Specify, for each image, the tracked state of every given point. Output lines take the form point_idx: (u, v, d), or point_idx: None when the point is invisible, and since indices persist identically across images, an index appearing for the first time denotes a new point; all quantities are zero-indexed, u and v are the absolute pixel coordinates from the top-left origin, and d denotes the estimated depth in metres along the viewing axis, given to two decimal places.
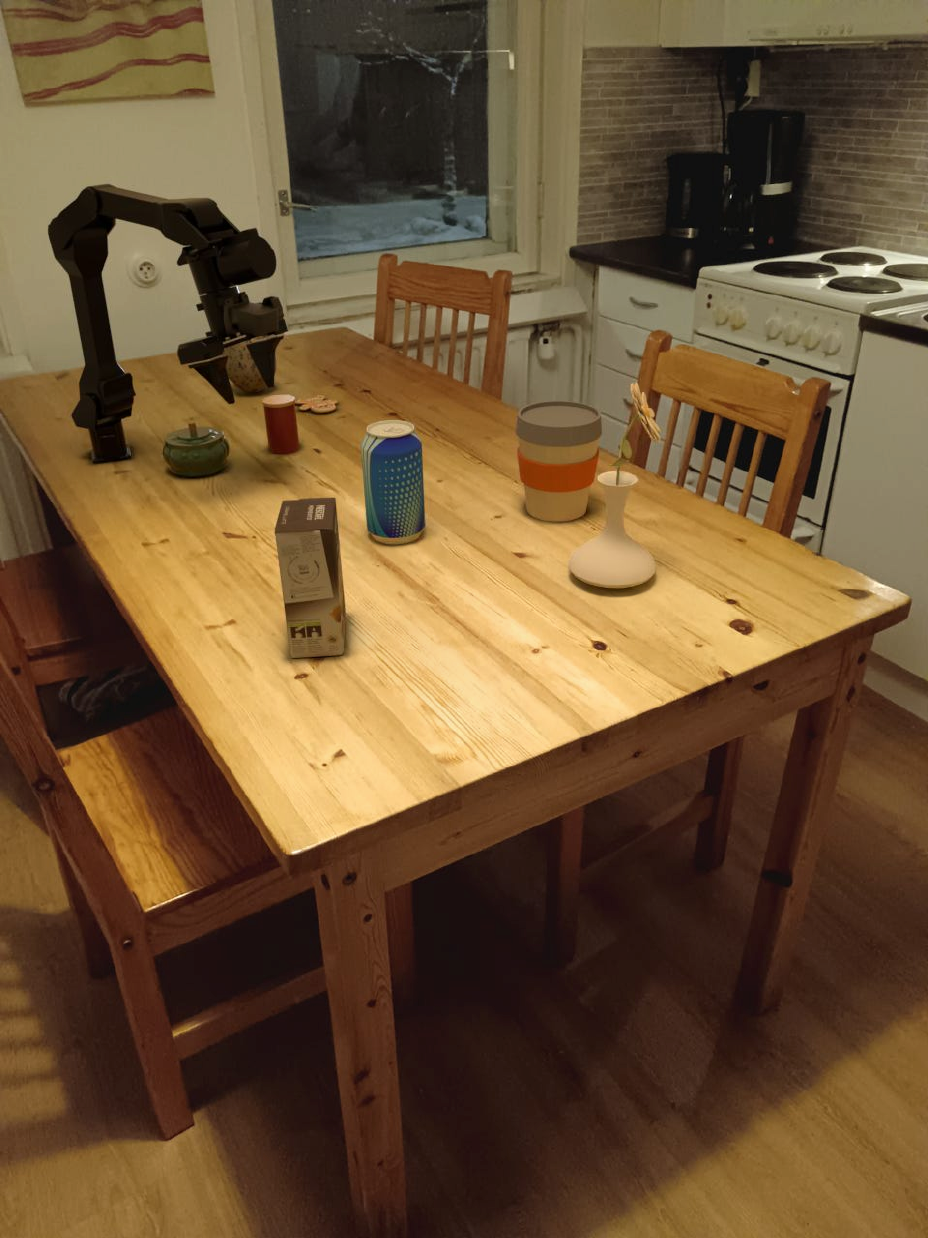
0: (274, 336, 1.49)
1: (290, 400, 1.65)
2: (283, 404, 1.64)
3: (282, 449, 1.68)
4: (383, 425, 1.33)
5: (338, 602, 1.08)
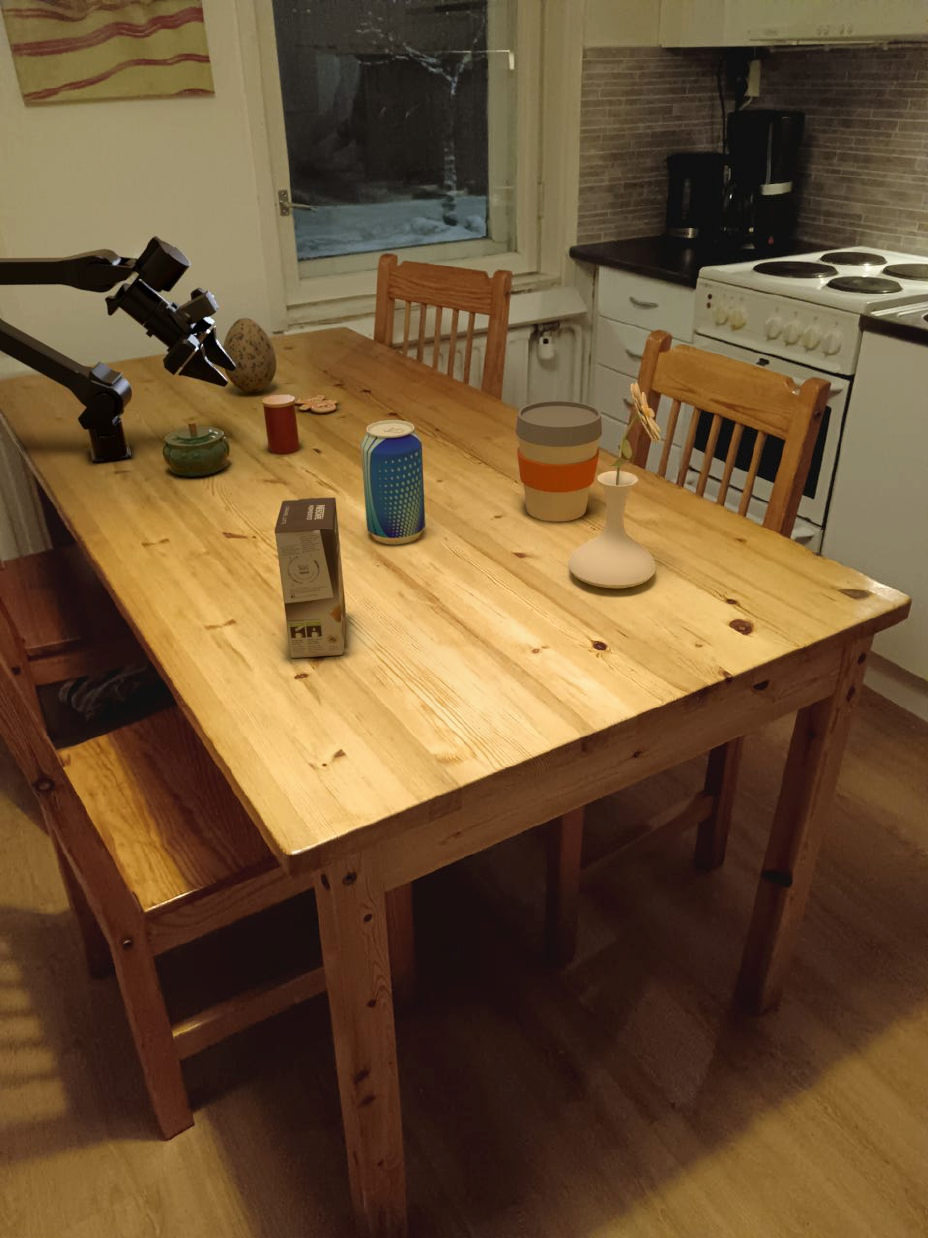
0: (208, 331, 1.67)
1: (290, 400, 1.65)
2: (283, 404, 1.64)
3: (282, 449, 1.68)
4: (383, 425, 1.33)
5: (338, 602, 1.08)
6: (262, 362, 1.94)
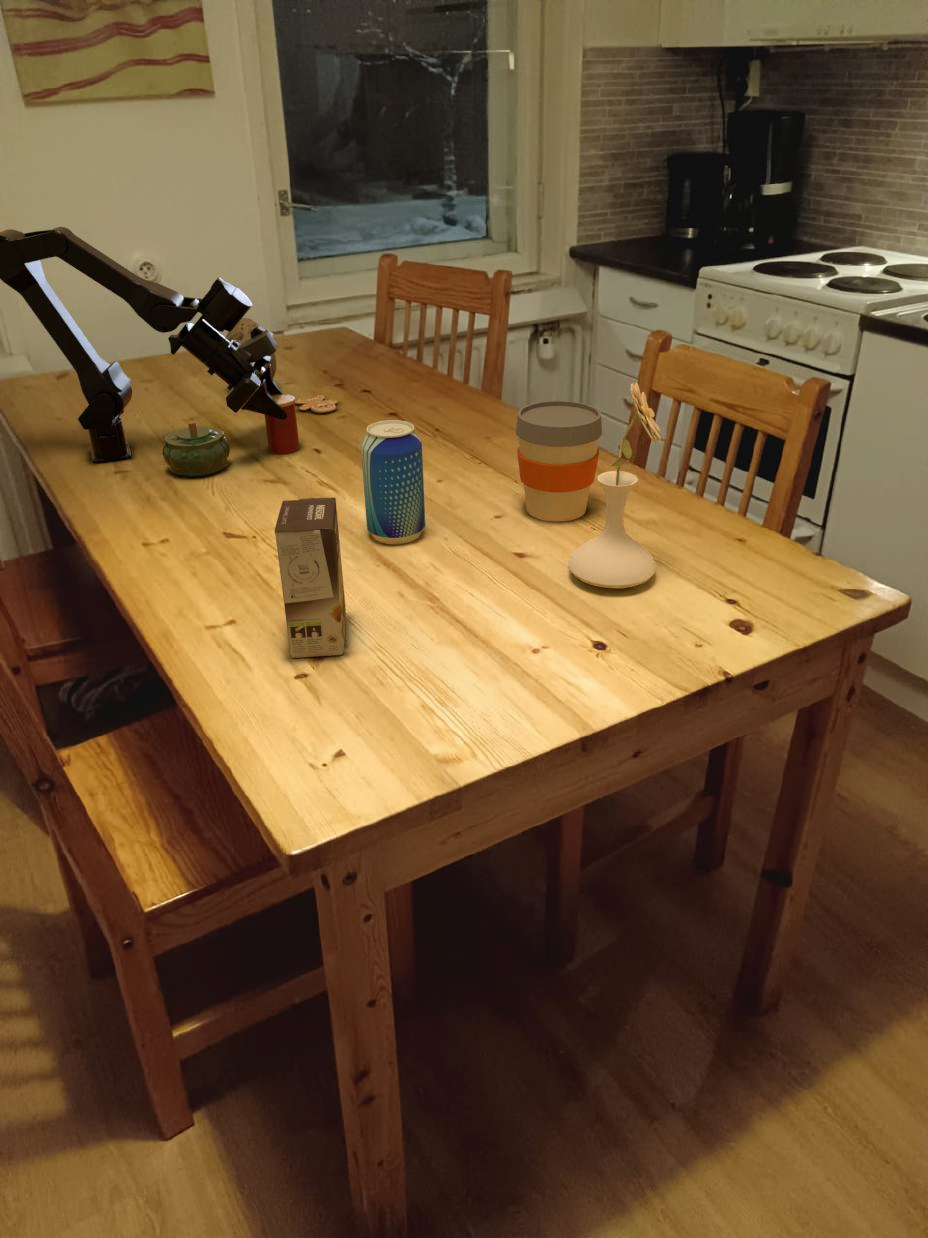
0: (264, 370, 1.69)
1: (290, 400, 1.65)
2: (283, 404, 1.64)
3: (282, 449, 1.68)
4: (383, 425, 1.33)
5: (338, 602, 1.08)
6: None
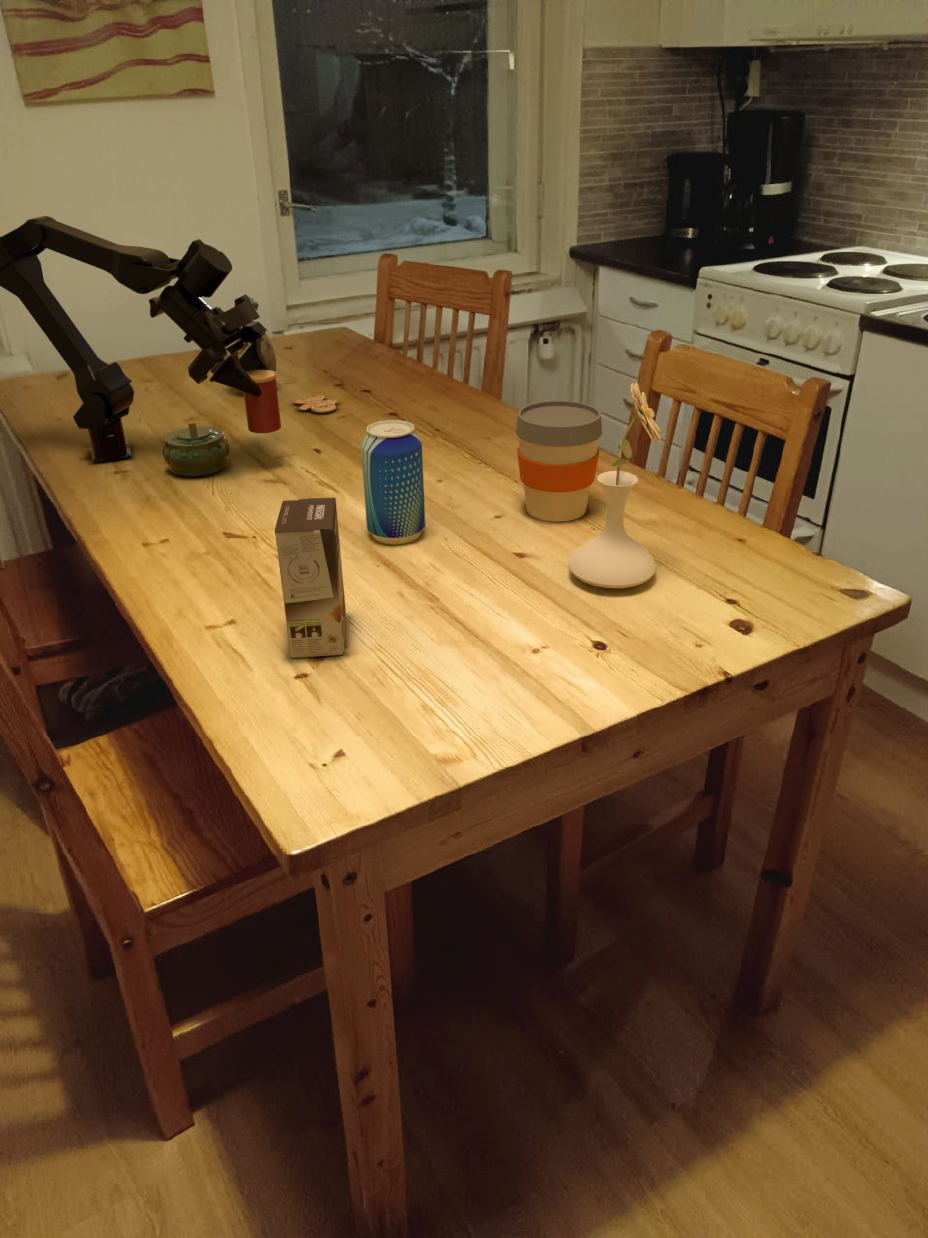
0: (254, 342, 1.58)
1: (267, 377, 1.54)
2: (258, 380, 1.53)
3: (258, 427, 1.57)
4: (383, 425, 1.33)
5: (338, 602, 1.08)
6: None
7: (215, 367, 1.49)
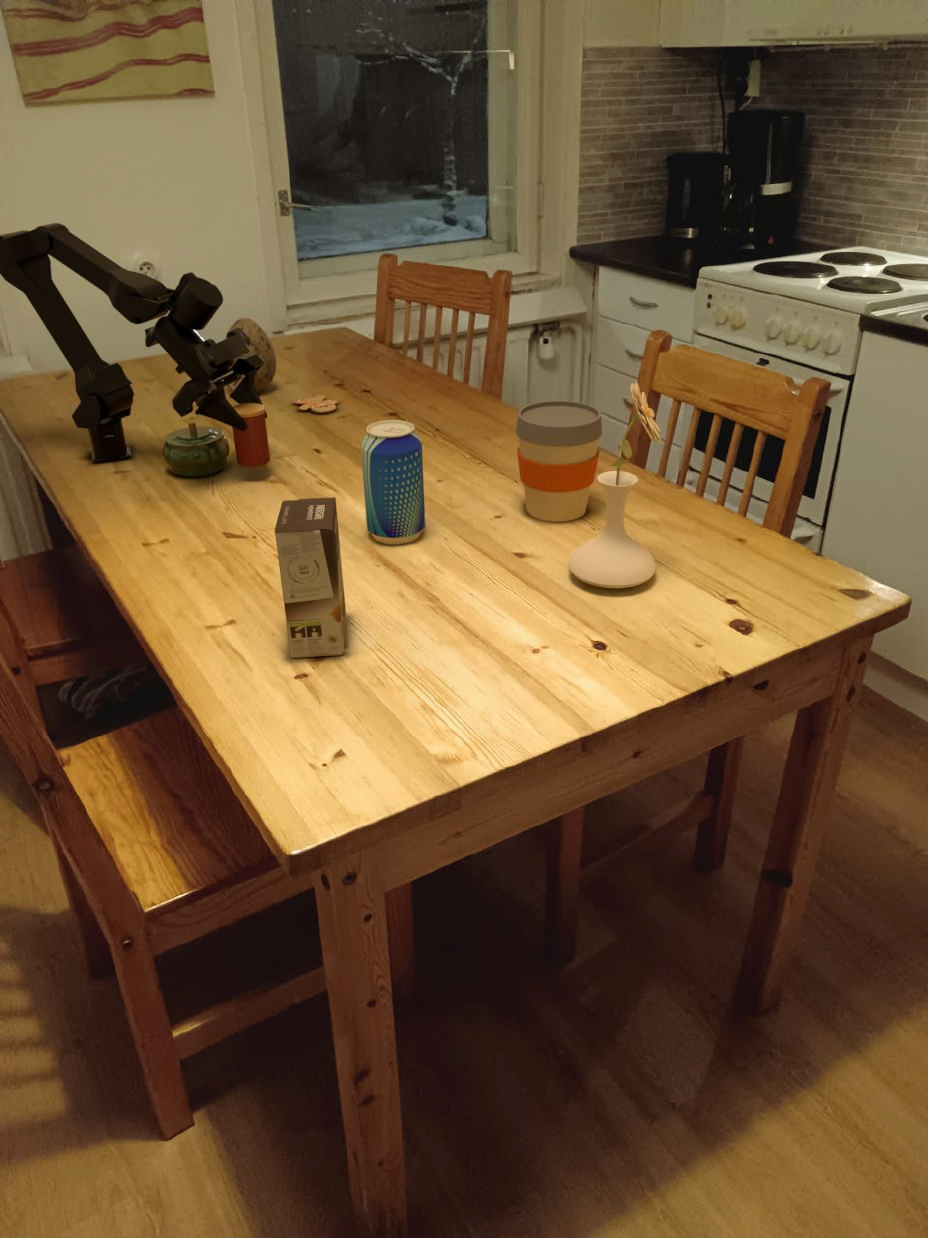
0: None
1: (254, 412, 1.52)
2: (244, 414, 1.51)
3: (244, 461, 1.55)
4: (383, 425, 1.33)
5: (338, 602, 1.08)
6: None
7: (200, 400, 1.49)
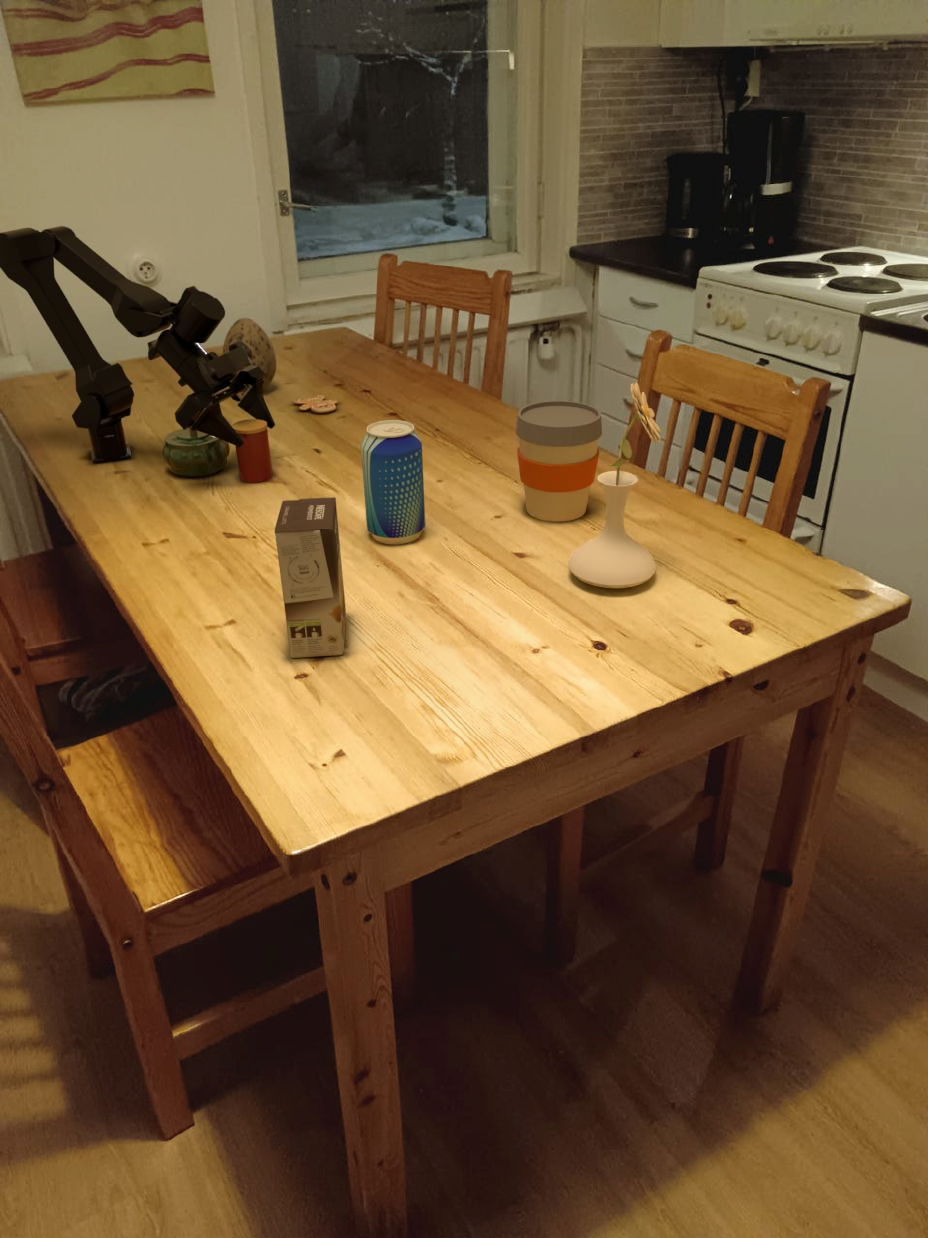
0: None
1: (256, 428, 1.53)
2: (246, 431, 1.52)
3: (247, 477, 1.57)
4: (383, 425, 1.33)
5: (338, 602, 1.08)
6: (262, 362, 1.94)
7: (195, 417, 1.48)
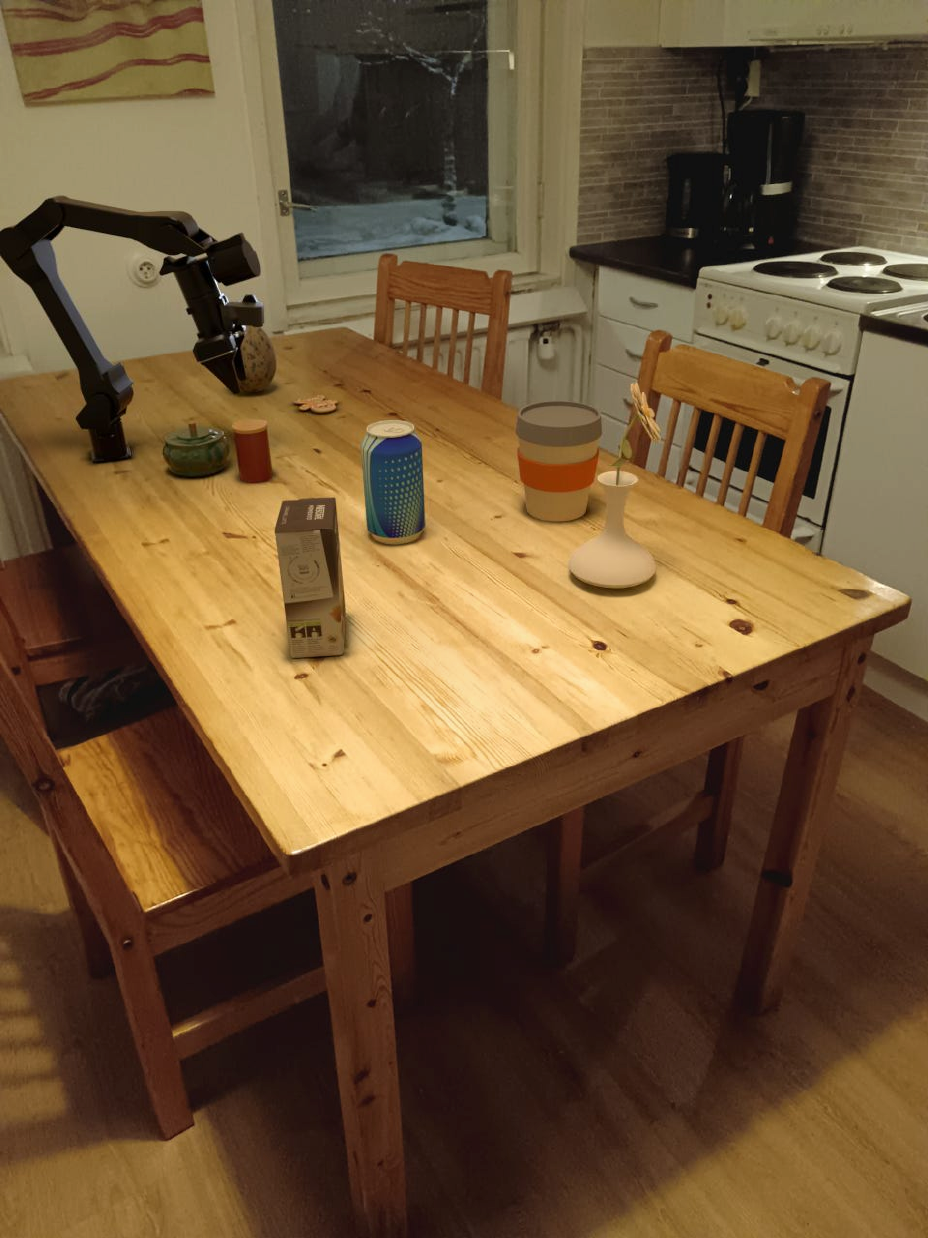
0: (237, 334, 1.64)
1: (256, 428, 1.53)
2: (246, 431, 1.52)
3: (247, 477, 1.57)
4: (383, 425, 1.33)
5: (338, 602, 1.08)
6: (262, 362, 1.94)
7: None
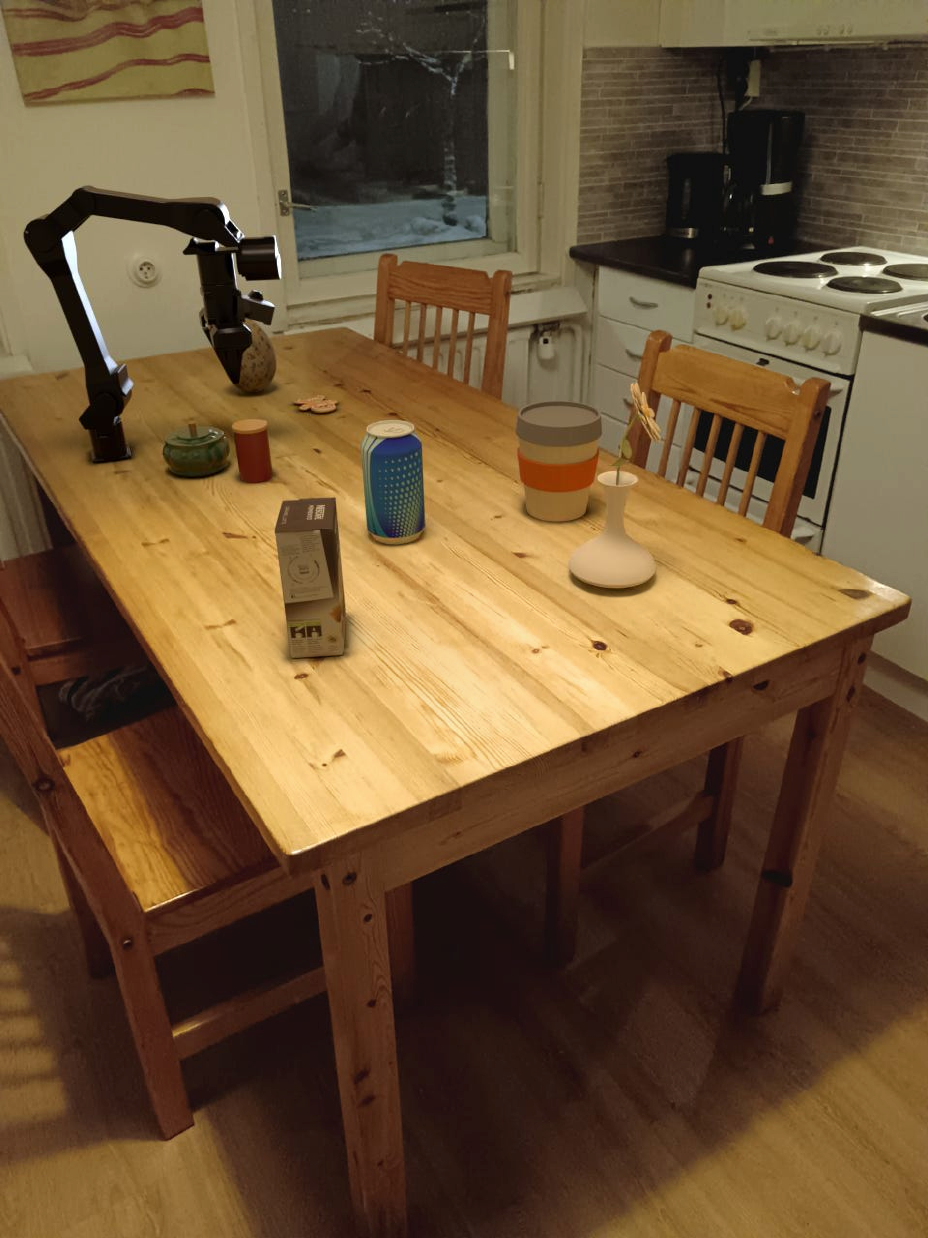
0: None
1: (256, 428, 1.53)
2: (246, 431, 1.52)
3: (247, 477, 1.57)
4: (383, 425, 1.33)
5: (338, 602, 1.08)
6: (262, 362, 1.94)
7: None
